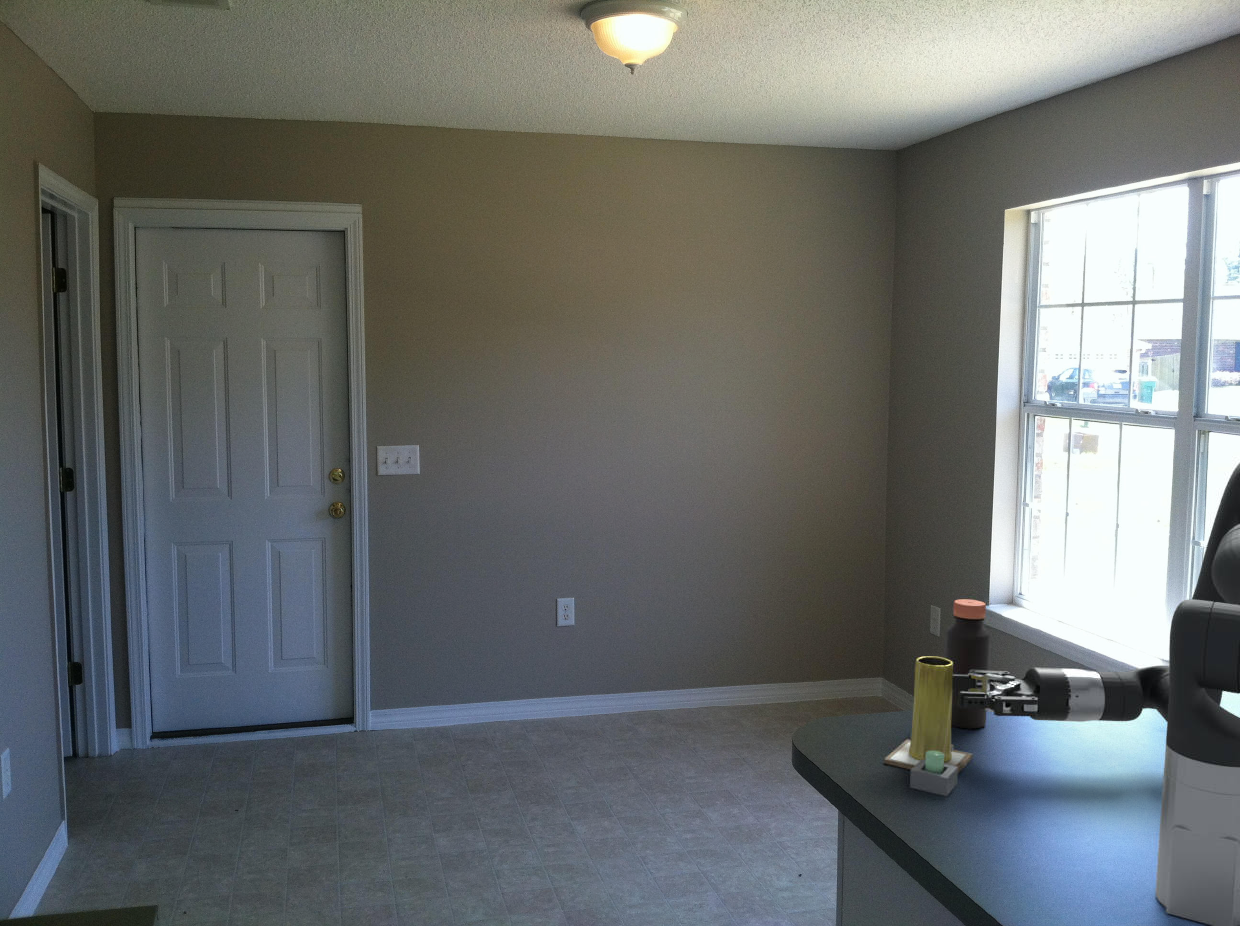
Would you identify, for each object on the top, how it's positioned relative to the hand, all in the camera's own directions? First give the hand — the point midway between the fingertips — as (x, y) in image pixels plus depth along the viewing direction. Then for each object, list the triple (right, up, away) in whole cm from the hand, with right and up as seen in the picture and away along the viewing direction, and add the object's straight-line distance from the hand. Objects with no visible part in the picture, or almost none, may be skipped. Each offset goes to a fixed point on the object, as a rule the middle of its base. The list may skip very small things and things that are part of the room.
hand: (950, 690), depth 153 cm
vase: (-3, -10, +1) cm, 10 cm away
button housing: (-5, -11, -8) cm, 15 cm away
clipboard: (-3, -11, +1) cm, 11 cm away
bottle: (+8, -9, +18) cm, 22 cm away
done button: (-5, -10, -8) cm, 14 cm away
